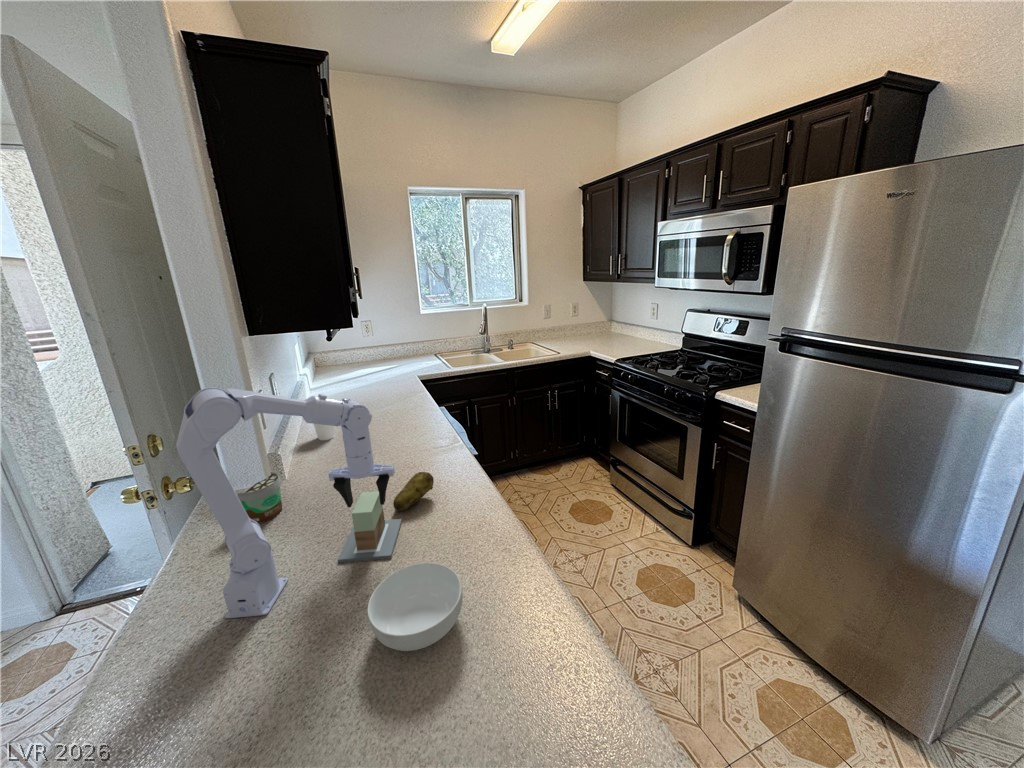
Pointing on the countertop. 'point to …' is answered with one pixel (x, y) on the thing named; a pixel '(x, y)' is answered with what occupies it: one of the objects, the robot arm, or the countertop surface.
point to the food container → (263, 499)
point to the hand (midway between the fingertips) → (366, 503)
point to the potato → (413, 490)
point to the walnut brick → (370, 536)
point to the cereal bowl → (415, 606)
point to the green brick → (367, 511)
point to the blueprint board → (382, 551)
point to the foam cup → (325, 431)
